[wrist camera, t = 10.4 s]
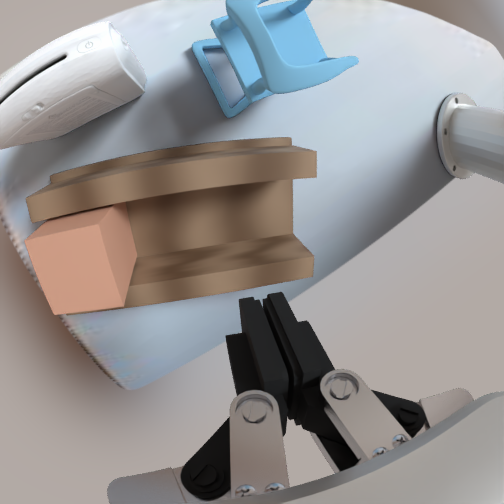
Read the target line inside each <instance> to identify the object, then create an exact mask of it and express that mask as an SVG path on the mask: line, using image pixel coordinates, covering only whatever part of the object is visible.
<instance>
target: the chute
mask: <svg viewBox="0 0 504 504" xmlns="http://www.w3.org/2000/svg"><path fill="white" fill-rule="evenodd" d="M316 177H317V152H316V151H313V150H309V149H305V148H301V147H297V146H292V139H291V138H290V137H278V138H258V139H244V140H232V141H221V142H212V143H203V144H195V145H187V146H180V147H173V148H167V149H161V150H155V151H149V152H144V153H138V154H133V155H128V156H123V157H119V158H114V159H110V160H105V161H101V162H97V163H93V164H89V165H85V166H81V167H77V168H74V169H70V170H66V171H63V172H60V173H56V174H53V175H51V176H50V179H51V184H50V185H48V186H46V187H44V188H42V189H41V190H39V191H37V192H35V193H34V194H32V195H30V196H29V197H27V198H26V202H27V206H28V210H29V214H30V218H31V221H32V223H35V222H38V221H42V220H46V219H50V218H54V217H58V216H62V215H66V214H70V213H74V212H79V211H83V210H87V209H92V208H97V207H101V206H106V205H111V204H116V203H121V202H126V207H127V212H128V217H129V221H130V226H131V231H132V235H133V239H134V243H135V248H136V252H137V258H136V261H135V265H134V269H133V272H132V276H131V280H130V284H129V287H128V291H127V296H126V300H125V304H124V307H116V308H108V309H101V310H92V311H84V312H76V313H67V314H66V315H74V314H82V313H91V312H99V311H107V310H115V309H123V308H130V307H137V306H145V305H152V304H158V303H165V302H172V301H178V300H185V299H191V298H197V297H204V296H210V295H216V294H222V293H227V292H233V291H239V290H245V289H250V288H256V287H261V286H267V285H272V284H277V283H283V282H288V281H293V280H298V279H303V278H308V277H313V268H314V255H313V254H312V253H311V252H310V251H309V250H308V249H307V248H306V247H305V246H304V245H303V244H302V243H301V242H300V241H299V240H298V239H297V237H296V236H295V235H294V234H293V180H292V179H301V178H316Z"/></svg>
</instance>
